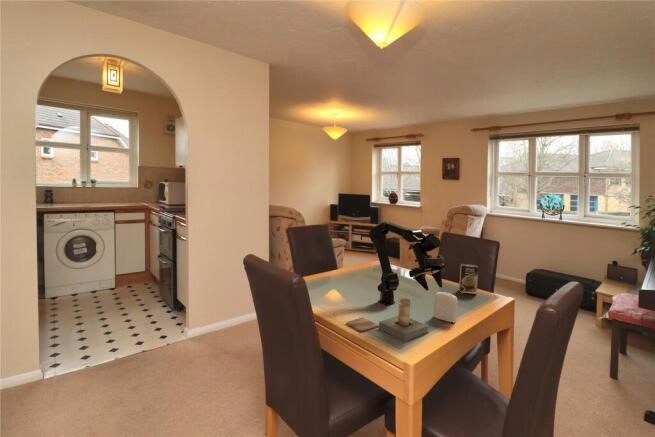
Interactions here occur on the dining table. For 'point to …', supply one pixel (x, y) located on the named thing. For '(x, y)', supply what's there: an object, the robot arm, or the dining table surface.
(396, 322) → the holder
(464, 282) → the coffee box
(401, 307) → the dowel
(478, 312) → the dining table surface
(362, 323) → the mat
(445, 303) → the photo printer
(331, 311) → the dining table surface
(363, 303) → the dining table surface
